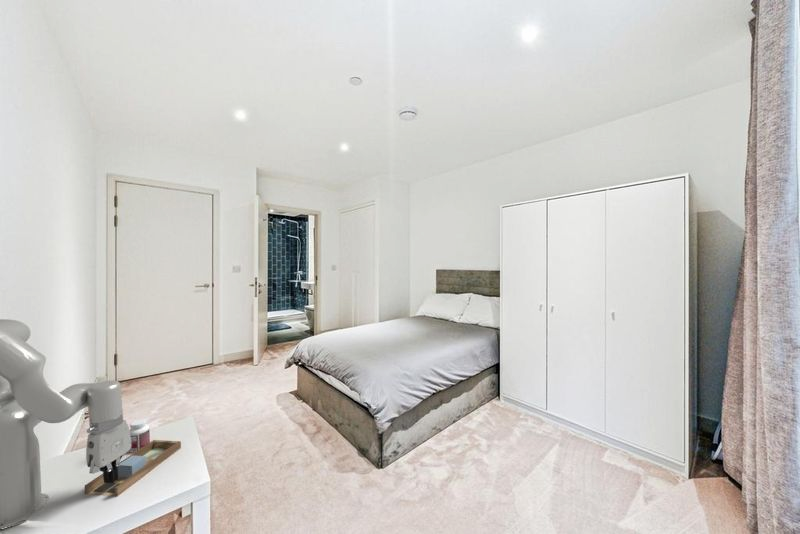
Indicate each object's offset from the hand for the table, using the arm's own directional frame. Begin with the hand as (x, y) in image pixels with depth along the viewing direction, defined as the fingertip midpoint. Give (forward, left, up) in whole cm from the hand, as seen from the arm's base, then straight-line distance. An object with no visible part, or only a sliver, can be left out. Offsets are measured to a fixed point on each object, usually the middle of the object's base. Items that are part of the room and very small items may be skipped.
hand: (111, 480), depth 97 cm
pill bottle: (-11, +20, -4) cm, 23 cm away
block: (-1, +8, -3) cm, 8 cm away
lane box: (-1, +10, -4) cm, 10 cm away
